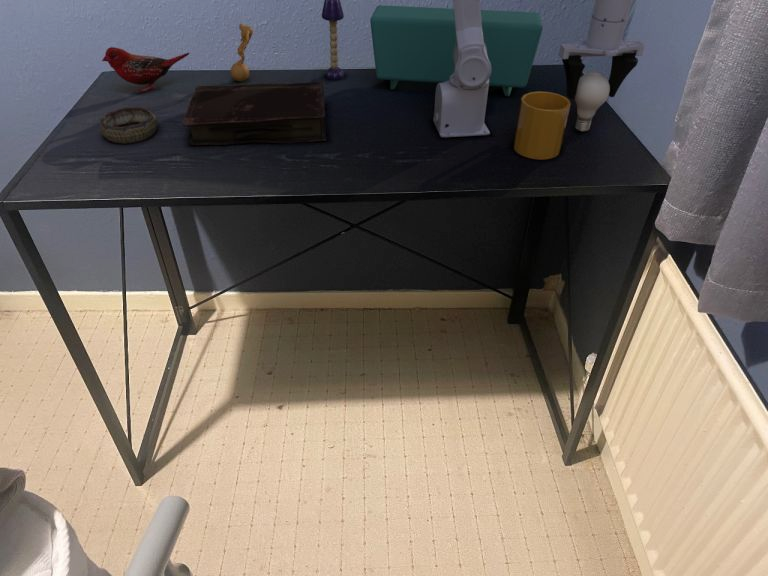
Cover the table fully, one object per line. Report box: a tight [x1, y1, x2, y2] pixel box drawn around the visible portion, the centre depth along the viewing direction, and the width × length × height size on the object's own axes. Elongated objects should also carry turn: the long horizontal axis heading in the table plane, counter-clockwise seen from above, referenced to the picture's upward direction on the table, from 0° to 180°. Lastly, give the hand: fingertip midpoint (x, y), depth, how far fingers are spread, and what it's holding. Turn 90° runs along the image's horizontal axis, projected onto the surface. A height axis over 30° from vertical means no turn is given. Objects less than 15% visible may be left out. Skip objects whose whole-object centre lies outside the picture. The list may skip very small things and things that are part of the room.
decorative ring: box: [99, 106, 159, 145], centre depth 107 cm, size 10×3×10 cm
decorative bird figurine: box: [101, 46, 191, 94], centre depth 121 cm, size 3×18×10 cm, turn 123°
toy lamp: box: [321, 0, 345, 81], centre depth 125 cm, size 5×5×17 cm
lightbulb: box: [573, 71, 610, 133], centre depth 106 cm, size 6×6×11 cm
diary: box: [182, 81, 327, 146], centre depth 110 cm, size 19×25×5 cm
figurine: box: [230, 23, 254, 83], centre depth 124 cm, size 8×6×12 cm
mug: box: [513, 90, 572, 161], centre depth 102 cm, size 11×8×9 cm
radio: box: [369, 4, 544, 97], centre depth 121 cm, size 34×10×15 cm, turn 82°
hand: (590, 96), depth 106 cm, fingers open, 7 cm apart
